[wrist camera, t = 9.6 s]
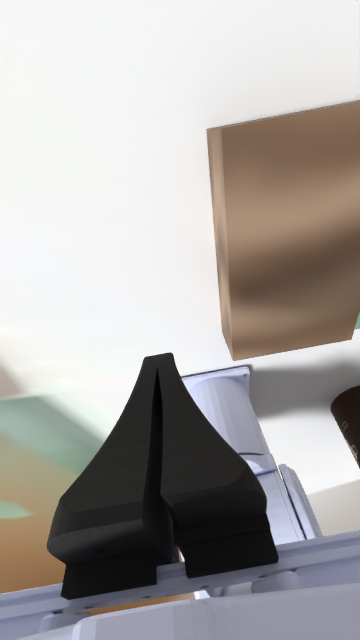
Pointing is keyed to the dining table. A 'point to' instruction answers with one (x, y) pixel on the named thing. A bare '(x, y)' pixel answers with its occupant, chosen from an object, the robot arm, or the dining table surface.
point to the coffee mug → (349, 418)
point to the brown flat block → (287, 229)
